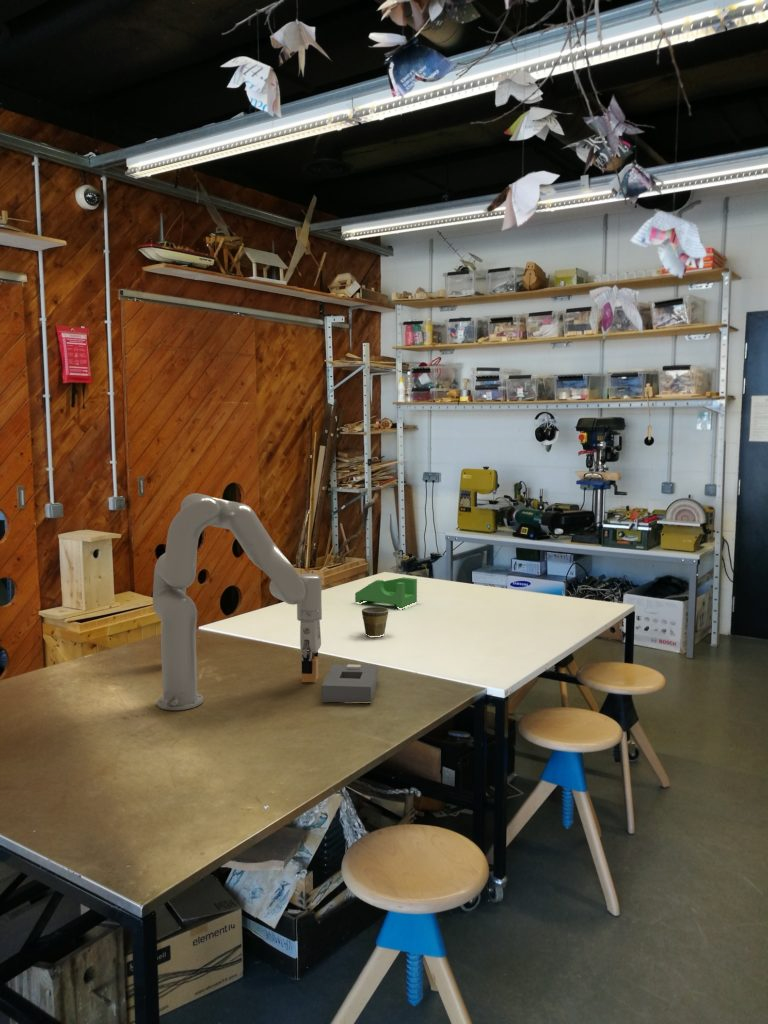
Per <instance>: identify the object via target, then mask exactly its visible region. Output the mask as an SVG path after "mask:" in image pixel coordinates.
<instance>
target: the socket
mask: <svg viewBox="0 0 768 1024" xmlns="http://www.w3.org/2000/svg"><path fill="white" fill-rule="evenodd" d="M377 680H378V681H379V665H377V664H373V665H369V664H352V663H350V664H349V663H348V664H338V663H337V664H336V663H335V664H334V663H332V665H331V667H330V669H329V671H328V673H327V675H326V677H325V679H324V681H323V682H322V684H321V703H322V702H371V700H372V701H373V699H372V697H373V698H374V696H373V694H374V695H375V693H374V690H375V691H376V689H375V687H376V688H377V686H376V684H377V685H378V683H377ZM371 703H372V702H371Z"/></svg>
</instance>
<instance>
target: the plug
mask: <svg viewBox="0 0 768 1024" xmlns="http://www.w3.org/2000/svg"><path fill="white" fill-rule="evenodd" d="M308 655H309V654H308ZM311 661H312V674H303V673H302V672H301V683H302V682H316V681H317V682H318V680H319V656H318V657H314V652H312V658H311ZM317 679H318V680H317ZM317 682H316V683H317Z"/></svg>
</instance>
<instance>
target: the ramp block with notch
mask: <svg viewBox="0 0 768 1024" xmlns="http://www.w3.org/2000/svg"><path fill="white" fill-rule="evenodd" d="M417 591H418V579H417V578H412V577H405V576H402V577H398V578H394V579H389V580H383V579H377V580H374V581H373V582H371V583H369V584H367V585H366V586H364V587H362V589H360V590H358V591H357V592H355V594H354V595H355V596H354V597H355V599H354V601H355V602H359V603H361V602H363V601H370V602H375V603H383V604H389V605H390V604H391V605H396V607H399V608H403V607H405V606H407V605H410V604H412V603H415V602H417V603H418V592H417ZM355 602H354V603H355Z"/></svg>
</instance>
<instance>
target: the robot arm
mask: <svg viewBox="0 0 768 1024" xmlns="http://www.w3.org/2000/svg"><path fill="white" fill-rule="evenodd" d="M208 526H210V527H215V528H220V529H225V530H226V529H227V530H230V531H231V533H232V535H233V536H234V538H235V539H236V540H237V542H238V544H239V545H240V546H241V548H242V549H243V551H244V552H245V554H246V556H247V557H248V559H249V560H250V561H251V562H252V564H254V565H255V566H256V567H258V569H260V570H261V571H263V572H264V573H265V574H266V575H267V577H269V579H270V583H269V587H268V588H269V592H270V594H271V595H272V597H274V598H276V599H277V600H280V601H282V602H284V603H286V604H288V605H293V606H294V605H296V618H297V619H296V620H297V621H299V624H300V625H299V626H300V627H299V645H300V652H301V674H302V673H303V674H312V661H311V658H312V652H314V657H318V658H319V650H320V648H321V645H322V638H321V637H322V636H321V633H322V632H321V623H320V621H321V620H322V619H323V618H322V617H323V614H322V611H323V610H322V607H323V606H322V577H321V576H320V574H317V573H302V574H298V572H297V570H296V569H295V567H294V566H293V564H292V563H291V562H290V560H289V559H288V558H287V557H286V556H285V555H284V553H283V552H282V551H281V549H280V548H279V547H278V546H277V545H276V543H275V542H274V541H273V539H272V538H271V536H270V535H269V533H268V532H267V530H266V528H265V527H264V525H263V524H262V522H261V520H260V519H259V518H258V516H257V514H256V513H255V511H254V510H253V509H252V507H250V506H249V505H248V504H246V503H242V502H237V501H230V500H226V499H222V498H217V497H213V496H210V495H207V494H202V493H197V492H196V493H190V494H188V495H186V496H185V497H184V498H183V500H182V501H181V503H180V511H178V512H177V514H176V515H175V516H174V518H173V519H172V520H171V523H170V525H169V528H168V531H167V535H166V542H165V543H166V546H165V552H164V553H162V555H160V556H159V558H158V559H157V560H156V563H155V566H154V571H153V584H152V585H153V588H152V609H153V611H154V613H155V614H156V616H157V617H158V618H159V619H160V621H161V620H162V629H161V632H160V652H161V681H162V682H161V684H162V687H161V688H162V696H161V697H159V698H157V701H156V703H157V704H156V705H157V707H158V708H160V709H163V710H166V711H184V710H190V709H193V708H197V707H198V706H200V705H201V704H202V703H203V702H204V696H203V695H202V694H200V693H198V673H197V672H198V670H197V668H198V667H197V666H198V665H197V635H196V634H197V623H198V608H197V606H196V603H195V602H194V600H193V599H192V598H191V597H190V596H189V595H188V594H187V588H189V587H190V586H191V585H192V584H193V583H194V581H195V578H196V576H197V560H198V559H197V557H198V548H199V547H198V546H199V539H200V536H201V534H202V532H203V531H204V529H206V527H208ZM308 654H309V655H308Z"/></svg>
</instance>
